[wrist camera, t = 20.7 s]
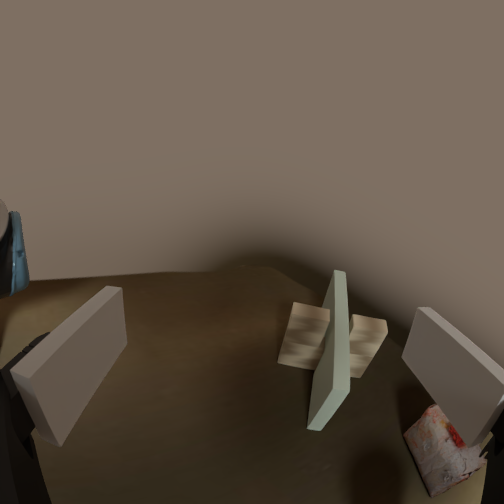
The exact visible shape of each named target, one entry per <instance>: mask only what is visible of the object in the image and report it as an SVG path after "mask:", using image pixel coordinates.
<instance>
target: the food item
mask: <svg viewBox="0 0 504 504" xmlns="http://www.w3.org/2000/svg"><path fill="white" fill-rule="evenodd" d="M403 436H404V439H405V440H406V442H407V444H408V447H409V449H410V451H411V453H412V455H413V457H414V460H415V462H416V464H417V466H418V468H419V471H420V474H421V476H422V479H423V481H424V483H425V485H426V487H427V489H428V492H429V495H430V497H431V498H433V497H435V496H437V495H438V494H441V493H443V492H444V491H445V492H446V490H449V489H450V488H451V487H453V486H455V485H456V484H458V483H460V482H462V481H464V480H467V479H468V478H469V477H470V476H471V475H472V474H473V473H475V472H476V471H477V470H479V469H480V468H481V467H482V466H483V465H485V464H486V462H487V461H486V460H485V459H484V456H483V455H482V457H481V458H480V457H479V455H480V453H481V448H480V446H479V445H476V446H473V447H471V448H469V449H468V447H467V446H466V444H465V443H464V441H463V440H462V438H461V437H460V435H459V434H458V433H457V431H456V430H455V428H454V427H453V426H452V424H451V423H450V421H449V420H448V419H447V417H446V416H445V414H444V413H443V412H442V410H441V409H440V408H439V406H438V405H437V403H436V404H434V405H431V406H429V407H428V408H427V409H426V411H425V412H424V413H423V415H422V416H421V418H420V419H419V420H418V421H417V422H416V423H415V424H413V425H412V426H411V427H410V428H409V429H408V430H407V431H406V432H405V434H404V435H403Z"/></svg>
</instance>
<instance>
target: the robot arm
mask: <svg viewBox="0 0 504 504" xmlns="http://www.w3.org/2000/svg"><path fill="white" fill-rule="evenodd" d="M28 284H29V272H28V266H27V259H26V253H25V246H24V239H23V233H22V224H21V217H20V214H19V213H18V212H17V211H16V212H13V211H11V212H9V213H8V210H7V207H6V205H5V203H4V202H3V201H2V200H1V199H0V299H1V298H4V297H8V296H12V295H13V294H14V293H17V292H19V291H22V290H24V289H26V288H27V286H28ZM127 344H128V343H127V335H126V326H125V316H124V305H123V292H122V288H120V287H113V286H106V287H104V288H103V289H102V290H101V291H100V292H98V293H97V294H96V295H95V296H93V297H92V298H91V299H90V300H89V301H87V302H86V303H85V304H84V305H82V306H81V307H80V308H79V309H78V310H77V311H75V312H74V313H73V314H72V315H71V316H69V317H68V318H67V319H66V320H65V321H64V322H62V323H61V324H60V325H59V326H58V327H57V328H55V329H54V330H53V331H52V332H51V333H50V332H47V333H45V334H43V335H41V336H39V337H37V338H36V339H34V340H33V341H32V342H31V343H30V344H29V346H26V347H25V348H24V349H23V350H22V352H20V353H18V354H17V355H16V356H15V357H14V358H13V359H12V360H11V361H10V362H9V363H7V364H6V365H5V366H4V367H3V368H2V369H1V370H0V504H52V503H51V500H50V497H49V495H48V492H47V489H46V485H45V482H44V479H43V475H42V472H41V468H40V465H39V461H38V457H37V453H36V448H35V444H34V440H33V438H32V435H31V434H30V433H31V432H32V430H33V429H34V428H35V427H36V429H37V431H38V433H39V435H40V437H41V438H42V439H43V440H45V441H47V442H49V443H52V444H54V445H56V446H59V447H61V446H62V444H63V443H64V441H65V439H66V438H67V436H68V434H69V433H70V431H71V429H72V428H73V426H74V425H75V423H76V421H77V420H78V418H79V416H80V415H81V413H82V412H83V410H84V409H85V407H86V405H87V404H88V402H89V401H90V399H91V398H92V396H93V394H94V393H95V391H96V390H97V388H98V387H99V385H100V384H101V382H102V381H103V379H104V378H105V376H106V375H107V373H108V372H109V370H110V369H111V367H112V366H113V364H114V363H115V361H116V360H117V358H118V357H119V355H120V354H121V352H122V351H123V349H124V348H125V346H126V345H127ZM402 359H403V360H404V361H405V363H406V364H407V365H408V366H409V368H410V369H411V370H412V372H413V373H414V374H415V375H416V377H417V378H418V379H419V381H420V382H421V383H422V385H423V386H424V387H425V389H426V390H427V391H428V393H429V394H430V395H431V397H432V398H433V399H434V401H435V402H436V403H437V405H438V406H439V408H440V409H441V410H442V412H443V413H444V414H445V416H446V417H447V419H448V420H449V421H450V423H451V424H452V426H453V427H454V428H455V430H456V431H457V433H458V434H459V435H460V437H461V438H462V440H463V441H464V443H465V444H466V446H467V447H468V449H469V448H471V447H473V446H476V445H478V444H480V443H482V442H483V440H484V439H485V437H486V436H487V435H488V433H489V432H490V431H491V432H492V433H493V437H492V438H491V439H490V441H489V442H488V443H487V445H486V446H485V447H484V449H483V450H482V451H481V453H480V455H479V457H480V458H481V457H482V455H483V454H484V453H485V452H487V451H488V453H487V455H486V456H485V457H484V459H487V468H486V476H485V483H484V489H483V494H482V500H481V504H504V369H503V368H501V367H500V366H499V365H498V364H497V363H496V362H495V361H493V360H492V359H491V358H490V357H489V356H488V355H487V354H486V353H484V352H483V351H482V350H481V349H480V348H479V347H477V346H476V345H475V344H474V343H473V342H472V341H470V340H469V339H468V338H467V337H466V336H464V335H463V334H462V333H461V332H460V331H458V330H457V329H456V328H455V327H454V326H452V325H451V324H450V323H449V322H447V321H446V320H445V319H444V318H442V317H441V316H440V315H439V314H437V313H436V312H435V311H434V310H432V309H431V308H430V307H418V308H417V310H416V314H415V317H414V321H413V324H412V328H411V331H410V334H409V337H408V340H407V343H406V346H405V349H404V352H403V355H402Z"/></svg>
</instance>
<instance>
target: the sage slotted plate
mask: <svg viewBox="0 0 504 504" xmlns="http://www.w3.org/2000/svg"><path fill="white" fill-rule="evenodd" d="M322 308H325V309H330V322H329V324H328V327H327V329H326V332H325V334H324V337H325V350H324V353H323V355H322V357H321V359H320V362H319V364H318V366H317V368H316V370H315V372H314V374H313V383H312V392H311V400H310V408H309V415H308V423H307V429H311V430H317V431H321V430H322V428H323V427H324V426H325V424H326V423H327V422H328V421H329V419H330V418H331V417H332V415H333V414H334V413H335V411H336V410H337V409H338V407H339V406H340V404H341V403H342V402H343V400H344V399H345V397H346V396H347V395H348V393H349V392H350V345H349V318H348V300H347V286H346V274H345V272H342V271H338V270H334V273H333V276H332V279H331V282H330V285H329V288H328V291H327V294H326V297H325V300H324V302H323V305H322Z"/></svg>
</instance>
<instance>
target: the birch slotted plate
mask: <svg viewBox="0 0 504 504" xmlns="http://www.w3.org/2000/svg"><path fill="white" fill-rule="evenodd" d="M329 322H330V309H325V308H320V307H315V306H310V305H306V304H301V303H296V302H294V303H293V306H292V310H291V314H290V317H289V321H288V325H287V328H286V332H285V335H284V339H283V342H282V345H281V349H280V353H279V357H278V362H277V363H280V364H284V365H289V366H294V367H299V368H304V369H309V370H316V368H317V366H318V364H319V362H320V359H321V357H322V355H323V353H324V350H325V337H324V334H325V332H326V329H327V327H328V324H329ZM387 333H388V330H387V324H386V321H385V320H381V319H375V318H370V317H365V316H359V315H354V314H353V315H352V318H351V320H350V322H349V345H350V376H351V377H357V378H360V377H361V376H362V374H363V373H364V371H365V370H366V368H367V366H368V365H369V363H370V362H371V360H372V358H373V357H374V355H375V354H376V352H377V350H378V349H379V347H380V345H381V343H382V342H383V340H384V338H385V337H386V335H387Z"/></svg>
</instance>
